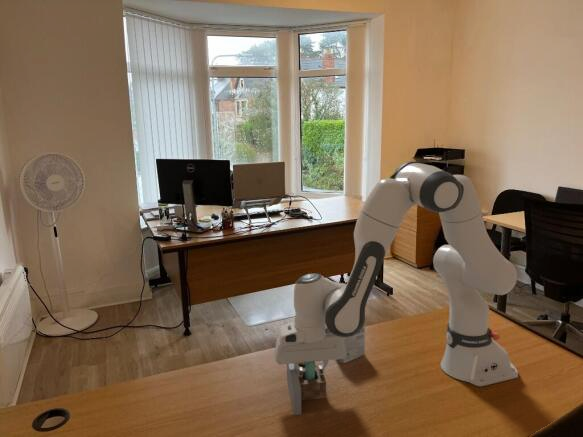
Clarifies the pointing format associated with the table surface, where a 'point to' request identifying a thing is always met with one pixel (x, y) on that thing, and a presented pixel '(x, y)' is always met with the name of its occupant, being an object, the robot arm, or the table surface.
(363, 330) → the ink cartridge box
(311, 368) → the dowel
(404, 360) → the table surface
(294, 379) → the wall
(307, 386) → the block
